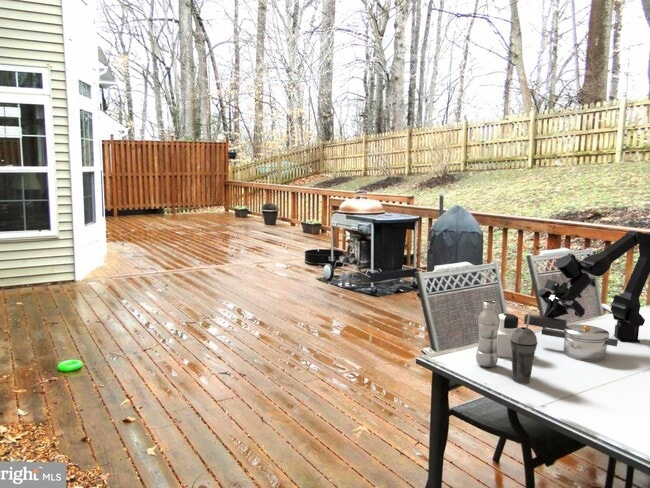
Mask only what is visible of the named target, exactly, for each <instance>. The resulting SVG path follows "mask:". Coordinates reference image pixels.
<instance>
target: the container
mask: <svg viewBox="0 0 650 488" xmlns="http://www.w3.org/2000/svg"><path fill="white" fill-rule="evenodd" d="M498 316H499V318H500V324H499V328H498V334H497V354H498V358H512V348H511V341H510V339H511V336H512V333H513V332H514V331H515V330H516V329H518V328H519V327H518V326H519V318H518V316H517V315H515V314H513V313H500V314H498Z"/></svg>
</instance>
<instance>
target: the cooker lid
mask: <svg viewBox="0 0 650 488" xmlns="http://www.w3.org/2000/svg"><path fill="white" fill-rule="evenodd" d="M528 314H529V313H526V314H524V320H523V321H524V322H523V324H524V325H527V320H528ZM528 326H534V327H540V328H546V329H552V330H558V331H564V333H566V334H567V335H569V336H572V337H575V338H579V339H584V340H593V341H600V340H606V339H608V338H609V336H610V332H609V331H608V330H606V329H604V328H602V327H598V326H593V325H588V324H578V323H576V324H575V323H573V324H568V320H567V319H563V318H557V317H556V318H550V317H544V315H543V316H541V315H537V314H530V319H529V325H528Z"/></svg>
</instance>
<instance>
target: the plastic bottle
mask: <svg viewBox="0 0 650 488" xmlns="http://www.w3.org/2000/svg"><path fill="white" fill-rule="evenodd" d="M482 308H483V310H482V311H481V312H480V313H479V315H478V318H477V322H478V323H477V325H478V335H479V336H478V345H477V350H476V352H475V353H476V354H475V361H476V363H477V365H479V366H482V367H485V368H494V367H495V366H496V365H498V361H499V360H498V359H499V357H498V354H497V334H498V328H499V324H500V318H499V316H498V315H499V314H498V313H497V302H495V301H492V300H484V301H483V306H482Z"/></svg>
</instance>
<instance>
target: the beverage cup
mask: <svg viewBox="0 0 650 488" xmlns="http://www.w3.org/2000/svg"><path fill="white" fill-rule="evenodd" d="M531 313H532V312H530V311H529V312H528V313H527V314H528V320H527V324H525V325H526V326H525V327H523V326H521V327H518V329H516V330H515V331H514V332H513V333H512V336H511V339H510V341H511V348H512V357H511V372H512V373H511V375H512V381H513V380H514V381H513V382H515V383H517V382H518V383H517V384H521V383H524V384H526V383H527V384H529V383H530V382H531V381H530V380H531V377H532V371H533V365H534V359H535V352H536V350H537V346H538V339H537V335H536V334H535V332H534V331H533V330H532V329H530V328H529V326H530V325H529V319H530V314H531ZM531 315H532V314H531ZM527 384H526V385H527Z"/></svg>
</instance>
